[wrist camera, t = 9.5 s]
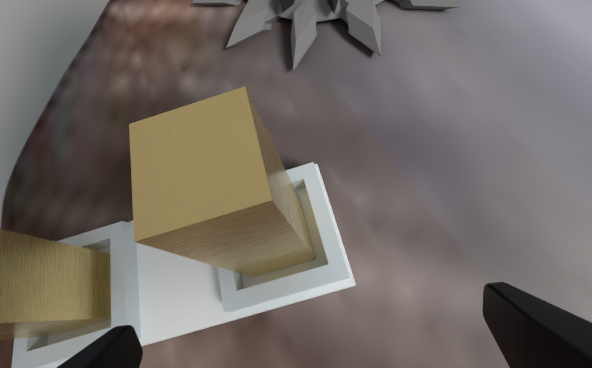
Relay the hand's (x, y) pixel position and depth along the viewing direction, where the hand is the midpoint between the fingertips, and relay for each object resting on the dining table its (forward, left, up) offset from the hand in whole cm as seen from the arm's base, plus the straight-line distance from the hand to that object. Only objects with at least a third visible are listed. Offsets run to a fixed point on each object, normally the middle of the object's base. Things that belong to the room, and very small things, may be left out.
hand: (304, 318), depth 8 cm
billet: (+5, +4, -13) cm, 14 cm away
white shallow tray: (+3, +11, -13) cm, 17 cm away
